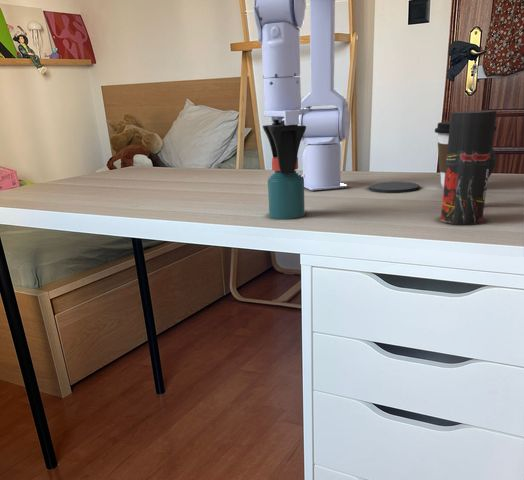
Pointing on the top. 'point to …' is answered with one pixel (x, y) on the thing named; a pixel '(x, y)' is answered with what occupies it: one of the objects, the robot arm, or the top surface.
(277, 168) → the cap
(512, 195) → the top surface
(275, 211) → the bottle
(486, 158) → the deodorant
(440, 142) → the coffee cup
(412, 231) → the top surface
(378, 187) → the coaster
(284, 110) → the robot arm
